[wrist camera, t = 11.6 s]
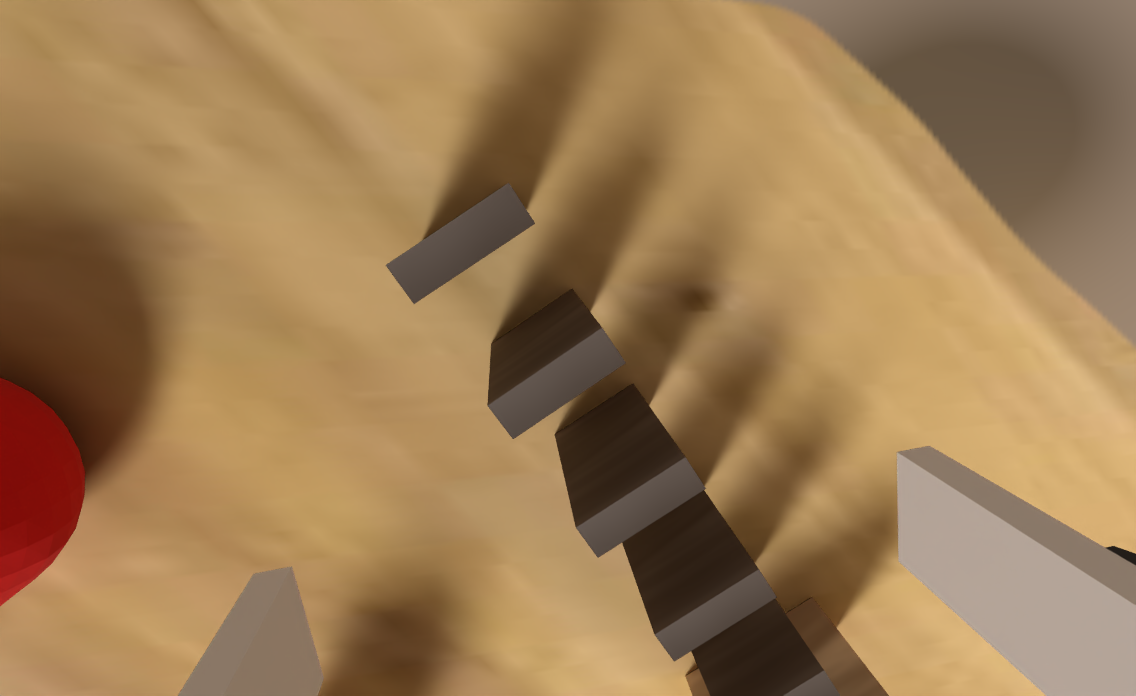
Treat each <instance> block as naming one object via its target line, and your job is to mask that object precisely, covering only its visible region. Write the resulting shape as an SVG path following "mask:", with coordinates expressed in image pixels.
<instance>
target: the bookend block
mask: <svg viewBox="0 0 1136 696" xmlns="http://www.w3.org/2000/svg"><path fill="white" fill-rule="evenodd" d="M786 615H787V617H788V618H789V620H790V621H791V623H792V624H793V625H794V627H795V628H796V630H797V631H798V633H799V634H800V636H801V637H802V639H803V640H804V642H805V643H806V644H807V646H808V647H809V649H810V650H811V652H812V653H813V655H814V656H815V658H816V659H817V661H818V662H819V664H820V665H821V666H822V668H823V669H824V671H825V672H826V674H827V676H828V677H829V679H830V680H831V682H832V683H833V685H834V686H835V688H836V689H837V691H838V693H839V694H840V696H889V695H888V694H887V693H886V691H885V690H884V689H883V687H882V686H881V685H880V684H879V682H878V681H877V680H876V678H875V677H874V676H873V675H872V673H871V672H870V671H869V669H868V668H867V667H866V666H865V664H864V663H863V662H862V660H861V659H860V658H859V657H858V655H857V654H856V653H855V651H854V650H853V649H852V648H851V646H850V645H849V644H848V642H847V641H846V640H845V639H844V637H843V636H842V635H841V633H840V632H839V631H838V630H837V628H836V627H835V626H834V624H833V623H832V622H831V621H830V619H829V618H828V617H827V615H826V614H825V613H824V612H823V610H822V609H821V608H820V606H819V605H818V604H817V603H816V601H815V600H814V599H813V597H812V598H810V599H809V600H807V601H805V602H804V603H802V604H801V605H799V606H797V607H796V608H794V609H792V610H791V611H789V612H788V613H786ZM685 677H686V679H687V682H688V684H689V687H690V690H691V692H692V695H693V696H710V694H709V692H708V689H707V687H706V685H705V682H704V680H703V677H702V675H701V673H700V670H699V668H698V669H696V670H695V671H693V672H691V673H690V674H688V675H687V676H685Z"/></svg>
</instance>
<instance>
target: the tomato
mask: <svg viewBox="0 0 1136 696" xmlns="http://www.w3.org/2000/svg"><path fill="white" fill-rule="evenodd" d="M84 492H85V471H84V467H83V463H82V460H81V456H80V452H79V449H78V448H77V446H76V444H75V442H74V440H73V438H72V436H71V434H70V432H69V430H68V428H67V427H66V426H65V424H64V423H63V422H62V421H61V419H60V418H59V417H58V416H57V414H56V413H55V412H54V411H53V410H52V408H50V407H49V406H48V405H46V404H45V403H44V402H43V401H41V400H40V399H39V398H38V397H36V396H35V395H34V394H32V393H31V392H29V391H27V390H25V389H23V388H22V387H20V386H18V385H16V384H14V383H12V382H10V381H8V380H5V379H2V378H0V606H1V605H2V604H4V603H5V602H6V601H7V600H9V599H10V598H11V597H12V596H14V595H15V594H16V593H17V592H19V591H20V590H21V589H23V588H24V587H25V586H27V585H28V584H29V583H31V582H32V581H33V580H34V579H36V578H37V577H38V576H39V575H40V574H41V573H42V572H43V571H44V570H45V569H46V568H47V567H48V566H50V565H51V564H52V563H53V561H54V560H55V558H56V557H57V556H58V554H59V553H60V551H61V550H62V549H63V547H64V546H65V545H66V543H67V542H68V540H69V538H70V537H71V535H72V534H73V532H74V530H75V529H76V526H77V522H78V519H79V515H80V512H81V508H82V504H83V499H84Z"/></svg>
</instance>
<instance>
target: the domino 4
mask: <svg viewBox="0 0 1136 696" xmlns="http://www.w3.org/2000/svg"><path fill="white" fill-rule="evenodd" d="M622 543H623V546H624V549H625V552H626V555H627V557H628V560H629V563H630V566H631V569H632V572H633V574H634V577H635V580H636V583H637V586H638V589H639V592H640V594H641V597H642V600H643V603H644V606H645V609H646V611H647V614H648V617H649V620H650V623H651V626H652V628H653V631H654V634H655V636H656V637H657V639H658V640H659V641H660V643H661V644H662V645H663V647H664V648H665V650H666V651H667V652H668V654H669V655H670V656H671V658H672V659H673V661H676V660H677V659H679V658H681V657H682V656H684V655H685V654H687V653H689V652H690V651H692V650H693V649H695V648H697V647H698V646H700V645H701V644H703V643H705V642H706V641H708V640H709V639H711V638H713V637H714V636H716V635H717V634H719V633H721V632H722V631H724V630H725V629H727V628H729V627H730V626H732V625H733V624H735V623H737V622H738V621H740V620H741V619H743V618H745V617H746V616H748V615H749V614H751V613H753V612H754V611H756V610H757V609H759V608H761V607H762V606H764V605H765V604H767V603H769V602H770V601H772V600H773V599H775V598H777V597H776V595H775V594H774V592H773V591H772V589H771V587H770V586H769V584H768V583H767V581H766V580H765V578H764V577H763V575H762V574H761V572H760V570H759V569H758V567H757V566H756V565H755V563H754V562H753V560H752V559H751V557H750V556H749V554H748V553H747V552H746V550H745V549H744V547H743V546H742V544H741V543H740V541H739V540H738V539H737V537H736V536H735V534H734V533H733V531H732V530H731V528H730V527H729V526H728V524H727V523H726V521H725V520H724V518H723V517H722V515H721V514H720V513H719V511H718V510H717V508H716V507H715V505H714V504H713V502H712V501H711V500H710V498H709V497H708V495H707V494H706V492H705V491H704V490H703V491H702V492H700V493H698V494H697V495H695V496H694V497H692V498H691V499H689V500H687V501H686V502H684V503H683V504H681V505H680V506H678V507H677V508H675V509H673V510H672V511H670V512H669V513H667V514H666V515H664V516H662V517H661V518H659V519H658V520H656V521H655V522H653V523H652V524H650V525H648V526H647V527H645V528H644V529H642V530H641V531H639V532H637V533H636V534H634V535H633V536H631V537H630V538H628V539H627V540H625V541H623V542H622Z"/></svg>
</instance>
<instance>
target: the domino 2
mask: <svg viewBox="0 0 1136 696" xmlns="http://www.w3.org/2000/svg"><path fill="white" fill-rule="evenodd" d="M625 363H626V362H625V361H624V359H623V358H622V356H621V355H620V353H619V352H618V350H617V349H616V348H615V346H614V345H613V343H612V342H611V340H610V339H609V337H608V336H607V334H606V333H605V331H604V330H603V328H602V327H601V326H600V324H599V323H598V322H597V320H596V319H595V318H594V317H593V315H592V314H591V313H590V311H589V310H588V309H587V308H586V306H585V305H584V304H583V302H582V301H581V300H580V298H579V297H578V296H577V295H576V293H575V292H574V291H573V289H571V290H569V291H568V292H566V293H565V294H563V295H562V296H560V297H559V298H558V299H556V300H555V301H553V302H552V303H550V304H549V305H547V306H546V307H544V308H543V309H542V310H540V311H539V312H537V313H536V314H534V315H533V316H531V317H530V318H528V319H527V320H526V321H524V322H523V323H521V324H520V325H518V326H517V327H515V328H514V329H512V330H511V331H509V332H508V333H507V334H505V335H504V336H502V337H501V338H499V339H498V340H496V341H495V342H493V343H492V344H491V357H490V374H489V390H488V407H489V408H490V410H491V411H492V412H493V414H494V415H495V416H496V417H497V419H498V420H499V421H500V423H501V424H502V425H503V427H504V428H505V429H506V431H507V432H508V433H509V435H510V436H511V437H512V439H514V438H516V437H517V436H519V435H520V434H522V433H523V432H525V431H526V430H528V429H529V428H530V427H532V426H533V425H535V424H536V423H538V422H539V421H541V420H542V419H544V418H545V417H547V416H548V415H550V414H551V413H553V412H554V411H556V410H557V409H559V408H560V407H562V406H563V405H564V404H566V403H567V402H569V401H570V400H572V399H573V398H575V397H576V396H578V395H579V394H581V393H582V392H584V391H585V390H587V389H588V388H590V387H591V386H593V385H594V384H596V383H597V382H598V381H600V380H601V379H603V378H604V377H606V376H607V375H609V374H610V373H612V372H613V371H615V370H616V369H618V368H619V367H621V366H622V365H624V364H625Z"/></svg>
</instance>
